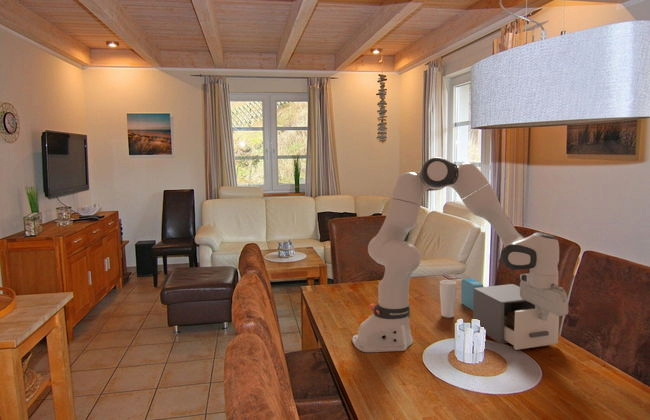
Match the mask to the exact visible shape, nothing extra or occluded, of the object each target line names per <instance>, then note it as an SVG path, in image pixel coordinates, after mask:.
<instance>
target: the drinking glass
mask: <svg viewBox="0 0 650 420" xmlns="http://www.w3.org/2000/svg"><path fill="white" fill-rule="evenodd" d="M439 297H440V298H439V299H440V311H441V312H440V313H441V314H440V315H441V317H443V318H448V319H449V318H453V317H455V308H456V300H457V299H456V298H457V282H456V281H455V280H452V279H443V280H440V281H439Z"/></svg>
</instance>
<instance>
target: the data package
mask: <svg viewBox="0 0 650 420" xmlns="http://www.w3.org/2000/svg"><path fill="white" fill-rule="evenodd" d="M460 286H461V288H460V289H461V291H460V296H461V298H460V299H461V301H460V302H461V303H462V305H463V306H465V307H466V308H468V309H469V310H471V311H472V312H473V294H474V288H480V287H485V286H484V284H483V283H481V282H480V281H478V280H476V279H474V278H472V277H471V278H462V279H461V285H460Z"/></svg>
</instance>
